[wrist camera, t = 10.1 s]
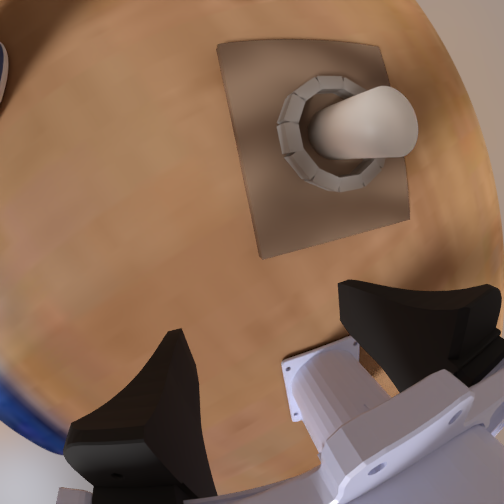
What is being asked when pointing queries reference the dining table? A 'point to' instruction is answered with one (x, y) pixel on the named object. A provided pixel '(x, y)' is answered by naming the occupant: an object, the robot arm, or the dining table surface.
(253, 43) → the socket board
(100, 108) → the dining table surface
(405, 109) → the white rounded capsule
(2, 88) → the supplement tub
